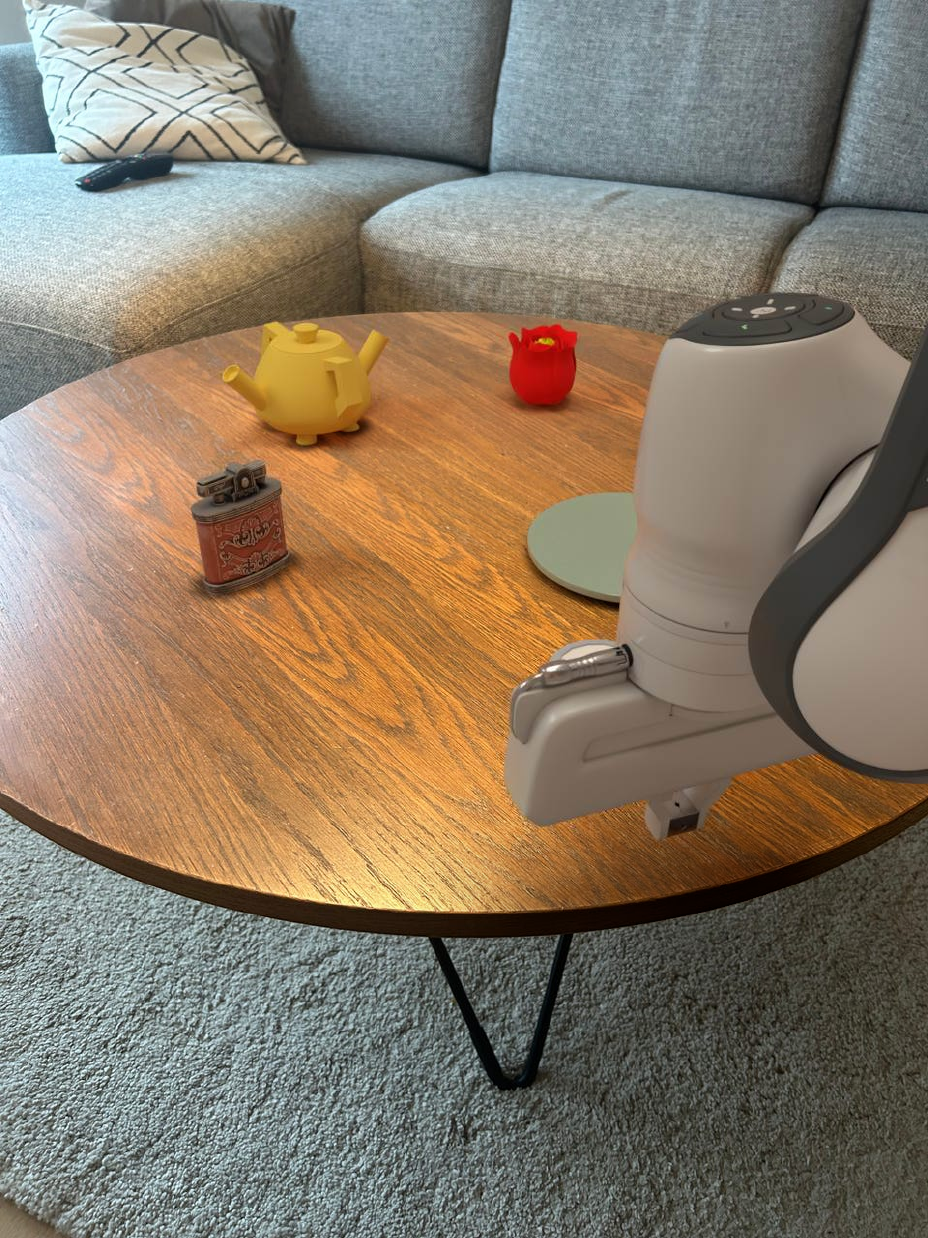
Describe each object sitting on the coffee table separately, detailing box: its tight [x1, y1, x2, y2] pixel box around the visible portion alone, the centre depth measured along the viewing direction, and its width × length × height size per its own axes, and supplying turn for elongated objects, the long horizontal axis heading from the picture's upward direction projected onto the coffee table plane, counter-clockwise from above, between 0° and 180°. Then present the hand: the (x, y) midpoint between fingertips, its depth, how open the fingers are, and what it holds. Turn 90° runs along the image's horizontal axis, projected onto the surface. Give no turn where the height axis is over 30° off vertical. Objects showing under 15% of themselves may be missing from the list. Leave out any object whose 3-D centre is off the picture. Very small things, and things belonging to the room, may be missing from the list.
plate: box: [526, 491, 637, 604], centre depth 88 cm, size 18×18×2 cm
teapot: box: [221, 320, 390, 446], centre depth 107 cm, size 20×18×11 cm
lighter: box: [190, 459, 291, 596], centre depth 83 cm, size 8×3×10 cm, turn 135°
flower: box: [508, 323, 579, 406], centre depth 114 cm, size 8×8×8 cm
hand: (673, 826), depth 57 cm, fingers closed
